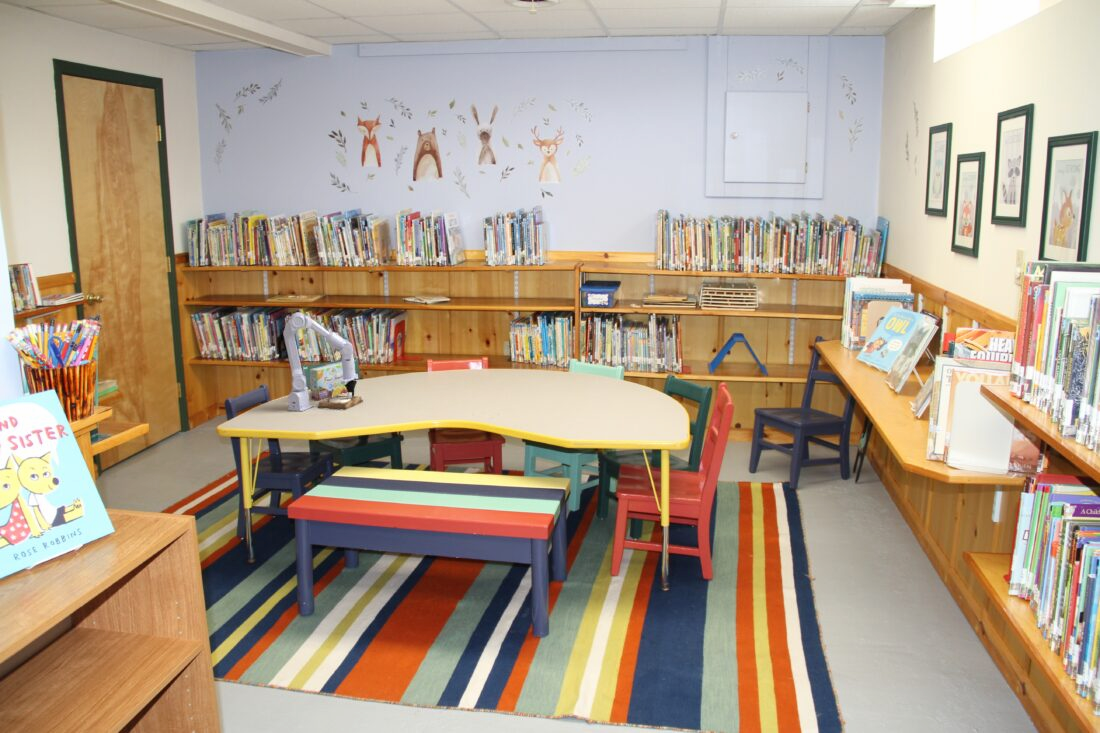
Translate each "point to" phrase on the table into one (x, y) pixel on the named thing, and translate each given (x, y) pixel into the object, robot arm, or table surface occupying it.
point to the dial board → (344, 406)
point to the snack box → (326, 381)
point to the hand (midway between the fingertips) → (351, 396)
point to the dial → (342, 398)
